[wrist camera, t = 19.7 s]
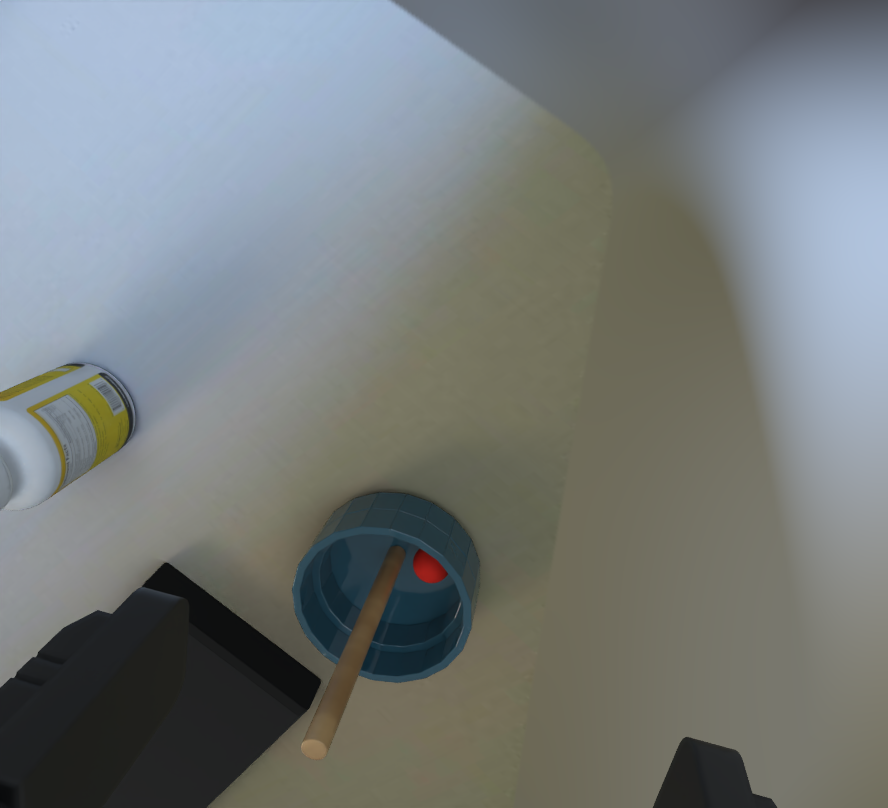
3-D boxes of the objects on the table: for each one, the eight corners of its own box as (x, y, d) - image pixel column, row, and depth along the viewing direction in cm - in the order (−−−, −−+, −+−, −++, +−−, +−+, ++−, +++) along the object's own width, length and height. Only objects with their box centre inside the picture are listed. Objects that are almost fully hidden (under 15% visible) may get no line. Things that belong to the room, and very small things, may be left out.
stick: (385, 546, 45) (297, 740, 30) (402, 543, 45) (322, 738, 30) (390, 562, 45) (305, 761, 31) (408, 559, 45) (330, 759, 30)
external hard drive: (321, 680, 51) (307, 711, 48) (171, 827, 59) (151, 861, 56) (165, 561, 49) (141, 586, 46) (34, 729, 58) (7, 759, 55)
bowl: (295, 508, 46) (264, 549, 41) (449, 470, 43) (435, 509, 38) (354, 642, 49) (332, 694, 44) (502, 615, 46) (495, 667, 41)
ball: (419, 574, 42) (456, 560, 42) (405, 544, 43) (440, 531, 44) (423, 596, 43) (458, 581, 44) (409, 566, 45) (443, 553, 45)
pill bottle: (34, 407, 47) (-125, 484, 36) (77, 339, 44) (-79, 400, 34) (111, 469, 47) (-23, 563, 37) (158, 405, 45) (30, 486, 34)
